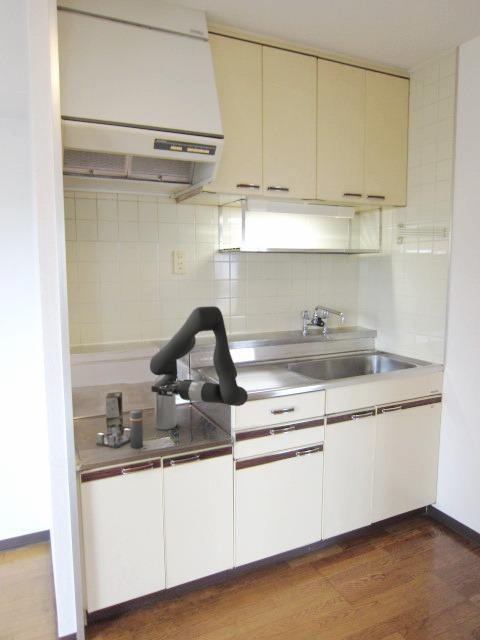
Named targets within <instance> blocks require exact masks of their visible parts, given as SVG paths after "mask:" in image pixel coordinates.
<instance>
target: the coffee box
mask: <svg viewBox="0 0 480 640" xmlns="http://www.w3.org/2000/svg"><path fill="white" fill-rule="evenodd" d="M123 413H124V411H123V392H122V391H121V392H119V391H118V392H108V393H107V395H106V397H105V417H106V418H105V421H106V422H105V423H106V424H105V425H106V426H105V427H106V429H105V431H106V435H112V427H114V426H117V427H119V435H120V434H122V431H123V429H124V428H123V427H124V419H123V418H124V417H123V416H124V415H123Z"/></svg>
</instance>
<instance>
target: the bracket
mask: <svg viewBox="0 0 480 640" xmlns="http://www.w3.org/2000/svg"><path fill="white" fill-rule="evenodd" d="M129 442H131V439H130V428H123V435H120V434H119V427H117V426H114V427H112V434H109V435H108V436H106V437H105V433H102V432H99V433H96V442H95V443H96V445H99V446H103V447H108V448H111V449H117V448H120V447H121V446H123V445H125V444H127V443H129Z"/></svg>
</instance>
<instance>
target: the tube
mask: <svg viewBox="0 0 480 640" xmlns="http://www.w3.org/2000/svg"><path fill="white" fill-rule="evenodd" d="M143 419H144V418H143V411H142V410H131V411H130V412H129V425H130V426H129V429H130V439H131V441H130V448H131V449H140V447H141V448H143V447H144V444H143V443H144V439H143V438H144V437H143V436H144V435H143V434H144V433H143V431H144V430H143V429H144V428H143V421H144V420H143ZM142 446H143V447H142Z"/></svg>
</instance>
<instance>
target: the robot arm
mask: <svg viewBox="0 0 480 640" xmlns="http://www.w3.org/2000/svg"><path fill="white" fill-rule="evenodd" d="M208 331H209V332H210V331H211V332H213V334H214V337H215V347H214V349H213V354H212V355H213V357H212V363H213V365H214V366H213V367H214V369H215V372H216V374H217V378H218V383H214V382H207V381H202V380H195V379H184V380H178V379H177V375H178V374H177V371H178V363H177V362H178V360H179V359H181V358H183V357H186V356H187V355H188V354H189V353H190V352H191V351H192V350H193V349H194V348H195V346H196V341H197V340H196V335H197V334H199V333H201V332H208ZM226 331H227V330H226V326H225V320H224V316H223V313H222V311H221V309H220V308H219V307H218V306H214V305H213V306H198V307H196V308H195V309H193V310H192V312H190V315H189V316H188V318H186V321H185V322H184V324H183V325H182V326H181V327H180V328H179V330H178V331H177V332H175V334H174V335H173V336H172V337H171V339H169V341H168V342H167V343H165V345H164V346H163V347H162V348H161V349H160V350H159V351H157V352H156V353H155V354H154V355H153V356H152V357H151V359H150V363H149V369H150V371H151V373H152V374H153V375H155V376H163V377H162V378H161V379H160V380H158V381H155V383H154V385H152V386H151V388H150V390H151V392H153V393H154V424H155V425H154V427H155V429H157V430H167V431H168V430H172V429H174V428H176V426H177V424H178V423H177V417H178V416H177V414H178V413H177V412H178V411H177V404H176V396H178V395H179V397H180V398H181V400H185V401H191V402H198V403H199V402H203V403H204V402H205V403H212V404H213V403H214V404H217V403H218V404H224V405H227V406H233V407H240V406H243V405H245V403H246V402H247V401H248V392H247V389H245V388H244V387H242V386H241V385H240V386H239V385H238V382H237V377H238V372H237V369H236V366H235V363H234V360H233V357H232V355H231V351H230V346H229V342H228V336H227V332H226Z"/></svg>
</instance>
